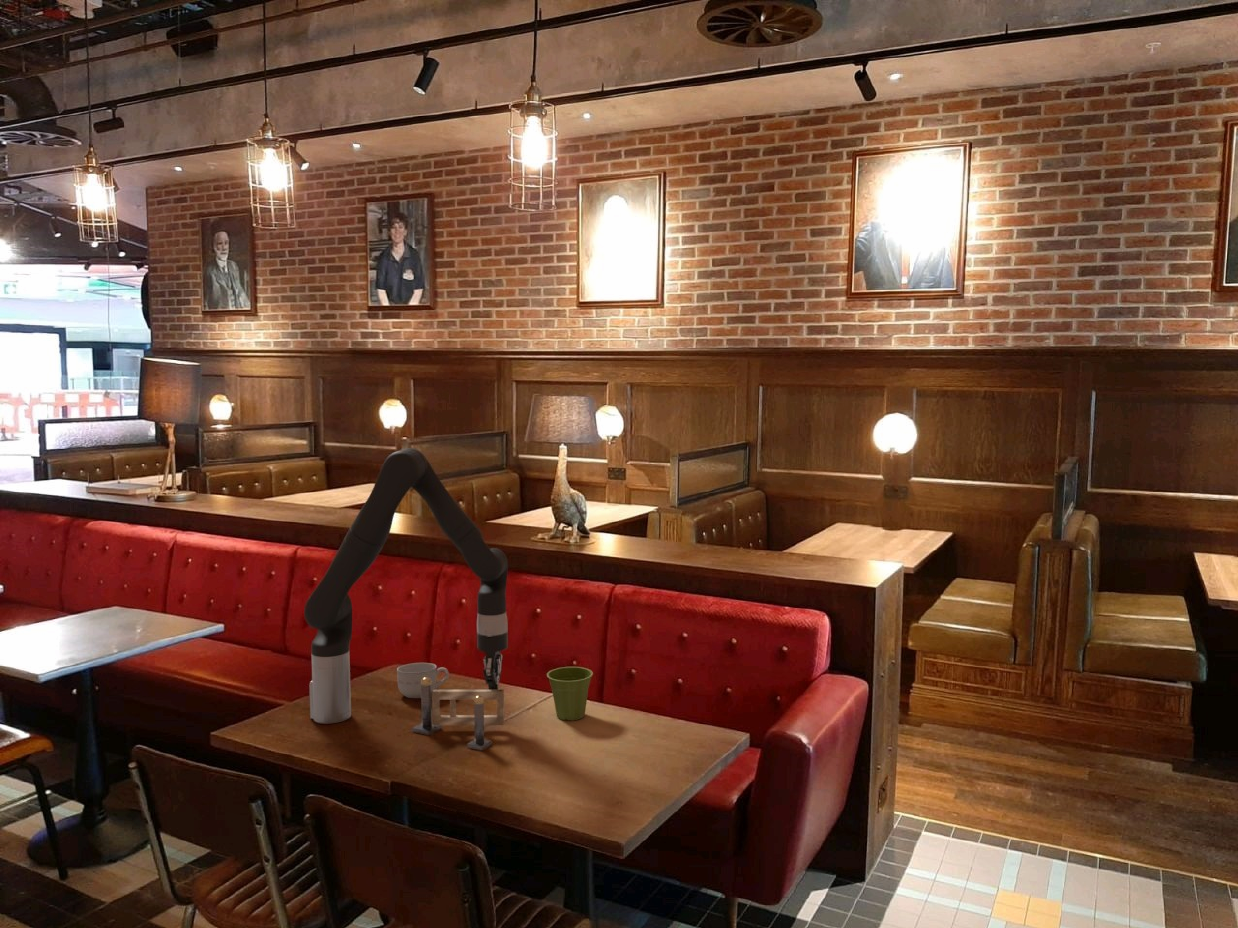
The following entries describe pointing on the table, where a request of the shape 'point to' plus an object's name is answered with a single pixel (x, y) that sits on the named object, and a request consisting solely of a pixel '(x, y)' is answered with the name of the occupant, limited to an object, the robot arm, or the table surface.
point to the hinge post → (426, 710)
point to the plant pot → (570, 691)
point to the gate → (466, 695)
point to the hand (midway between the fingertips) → (493, 697)
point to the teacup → (418, 678)
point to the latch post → (479, 726)
